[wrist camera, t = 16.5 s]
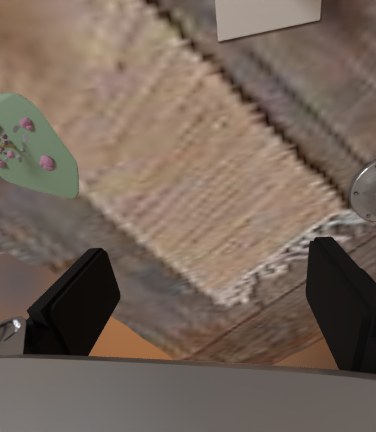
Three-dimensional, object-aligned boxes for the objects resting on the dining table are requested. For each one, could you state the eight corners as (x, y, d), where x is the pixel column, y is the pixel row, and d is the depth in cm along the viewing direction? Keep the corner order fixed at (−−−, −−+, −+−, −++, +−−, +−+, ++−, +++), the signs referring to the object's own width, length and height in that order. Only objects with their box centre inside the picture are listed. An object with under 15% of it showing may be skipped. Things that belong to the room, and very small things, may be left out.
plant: (97, 139, 46) (71, 144, 38) (71, 216, 55) (44, 234, 46) (-17, 72, 44) (-72, 62, 36) (-26, 163, 53) (-72, 172, 44)
